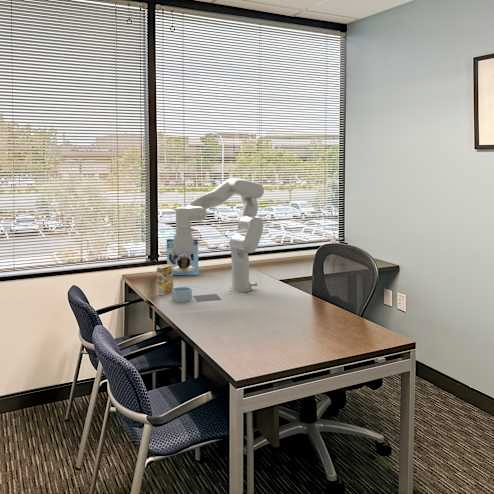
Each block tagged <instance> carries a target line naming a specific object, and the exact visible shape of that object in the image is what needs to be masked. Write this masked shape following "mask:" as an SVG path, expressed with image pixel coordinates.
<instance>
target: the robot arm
mask: <svg viewBox="0 0 494 494" xmlns="http://www.w3.org/2000/svg"><path fill="white" fill-rule="evenodd" d="M264 193H265V188H264V185H262V184H261V183H259V182H255V181H251V180H248V179H247V180H246V179H243V178H233V177H231V178H228V179H226V180H224V181H223V182H222V183H220V185H218V186H217V187H215V188H214V189H213V190H211V191H210V192H207V193H205V194H203V195H201V196H199V197H197V198H196V199H194V200H193V201H191V202H190V203H189V204H187V205H186V206H179V207H176V208H175V209H176V210H175V234H174V236H173V239H174V242H173V250H172V251H171V253H170V254H171V255H173V256H174V257H176V258H177V263H178V266H179V268H181V260H180V255H181V254H187V267H189V265H190V259H191V258H192V257H193V256H194V255H195V254H197V252H196V250H195V249H194V243H193V239H194V238H193V233H192V232H194V231H195V230H194V228H192V221H193V222H194V221H195V222H201V221H204V220H205V219H206V218H207V216H208V212H207V209H210V208H216V207H218V206H222V204H224V203H225V202H226V201H227V200H229V199H230V198H231V197H233V196H235V195H237V196H238V195H239V196H240V198H241V200H242V210H241V213H240V216H239V218H238V221H237V229H238V231H241V232H242V233H235V234H233V235H232V236H231V237H230V239H229V248H230V253H231V255H230V256H231V286H230V287H229V288H228V289H229V291H230V292H236V293H248V292H251V291H252V289H253V288H252V287H258V282H253V281H252V282H251V281H250V266H249V265H250V264H249V263H250V259H249V254H252V253H254V252H256V250H257V249H258V246H259V244H260V240H261V238H262V234H263V230H264V222H263V219H262V218H261V217H259V216H257V214H258V211H259V203H258V199H260V198H261V197H263V195H264ZM243 233H245V234H243ZM174 252H175V253H176V254H177V255H176V254H174ZM190 253H192V254H190Z"/></svg>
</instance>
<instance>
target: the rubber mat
mask: <svg viewBox="0 0 494 494" xmlns="http://www.w3.org/2000/svg"><path fill="white" fill-rule="evenodd" d="M192 298H194V300H195V301H196V302H197V303H202V302H211V301H212V302H213V301H222V300H223V299H222V298H221V297H220V296H219V295H218V294H217V293H210V294H209V293H208V294H201V295H192Z"/></svg>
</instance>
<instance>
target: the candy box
mask: <svg viewBox="0 0 494 494" xmlns="http://www.w3.org/2000/svg"><path fill="white" fill-rule="evenodd" d="M172 268H173V267H172V265H167V264H166V265H162V266H158V267H156V277H157V281H156V282H157V295H158V296H163V297H164V295H168V294H170V293H171V294H172V289H173V288H174V275H173V270H172Z"/></svg>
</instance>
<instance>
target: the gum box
mask: <svg viewBox="0 0 494 494" xmlns="http://www.w3.org/2000/svg"><path fill="white" fill-rule="evenodd" d="M173 242H174V238H167V239H166V265H172V267H175V266H178V263H177V258H176V257H174V256H173V255H171V254H170V253H171V251H172V250H173ZM193 243H194V249H195V250H196V252H197V254H195V255H194V256H193V257H192V258H191V259H190V265H189V266H194V267H196V270H194V271H187V272H179V271H173V276H178V275H179V276H198V275H199V238H193ZM174 254H176V253H175V252H174ZM190 254H192V253H190ZM176 255H177V254H176ZM180 257H187V254H181V255H180Z"/></svg>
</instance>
